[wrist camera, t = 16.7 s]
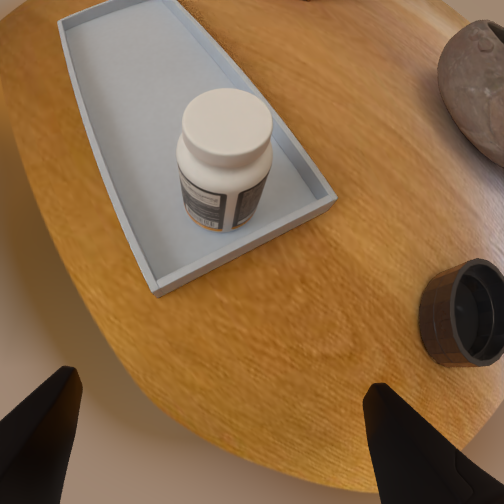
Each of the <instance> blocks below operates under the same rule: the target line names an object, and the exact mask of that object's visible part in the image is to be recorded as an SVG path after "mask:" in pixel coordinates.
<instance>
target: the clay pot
mask: <svg viewBox="0 0 504 504" xmlns="http://www.w3.org/2000/svg"><path fill="white" fill-rule="evenodd" d="M437 69H438V85H439V90H440V94H441V96H442V99H443V101H444V103H445V105H446V107H447V109H448V111H449V113H450V114H451V116H452V118H453V120H454V121H455V123H456V125H457V126H458V128H459V129H460V130H461V132H462V133H463V134H464V135H465V136H466V137H467V139H468V140H469V141H470V142H471V143H472V144H473V145H474V146H475V147H476V148H477V149H478V150H479V151H480V152H481V153H482V154H484V155H485V156H486V157H488V158H489V159H490V160H491V161H492V162H494V163H496V164H497V165H499V166H501V167H502V168H504V28H503V27H502V26H500V25H498V24H496V23H494V22H492V21H490V20H478V21H475V22H473V23H470V24H469V25H467V26H466V27H464V28H463V29H461V30H460V31H459V32H458V33H456V34H455V35H454V36H453V37H452V38H451V39H450V40H449V41H448V43H447V44H446V46H445V47H444V49H443V52H442V54H441V56H440V59H439V63H438V68H437Z"/></svg>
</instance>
